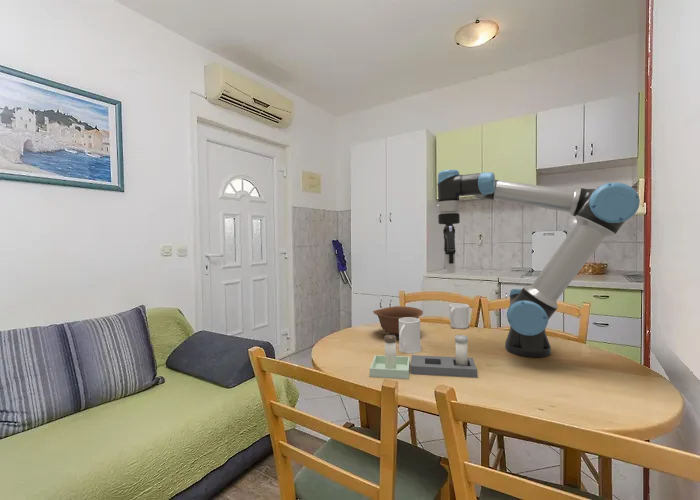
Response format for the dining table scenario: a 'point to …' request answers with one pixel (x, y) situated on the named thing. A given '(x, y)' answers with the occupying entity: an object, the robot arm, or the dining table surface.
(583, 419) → the dining table surface
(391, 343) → the cylinder
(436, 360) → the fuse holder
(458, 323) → the mug
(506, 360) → the dining table surface
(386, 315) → the bowl
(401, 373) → the tray
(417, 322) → the mug
